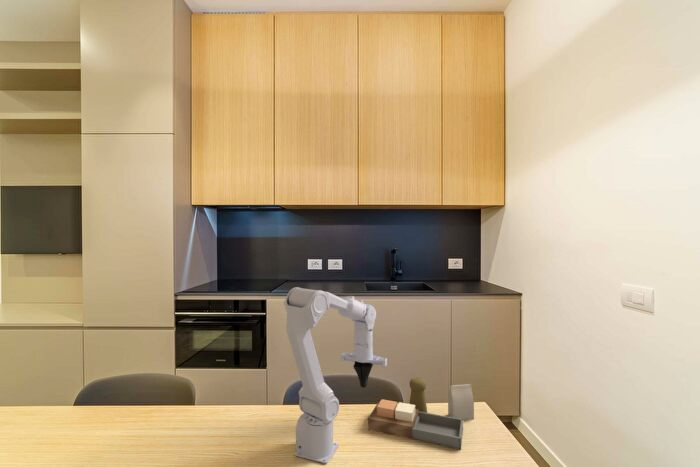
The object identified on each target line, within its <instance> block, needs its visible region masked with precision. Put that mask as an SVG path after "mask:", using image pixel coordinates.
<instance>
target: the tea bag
mask: <svg viewBox="0 0 700 467" xmlns="http://www.w3.org/2000/svg"><path fill="white" fill-rule="evenodd" d="M474 401H475V400H474V393H473V390H472V384H470V383H469V384H466V383H465V384H454V385H449V390H448V395H447V412H448V417H453V418H458V419H463V421H469V420H470V421H471V420H474V419H475V402H474Z"/></svg>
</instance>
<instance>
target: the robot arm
mask: <svg viewBox="0 0 700 467" xmlns="http://www.w3.org/2000/svg"><path fill="white" fill-rule="evenodd" d="M355 297H356V296H354V295H348V296H344V297H342V298H341V297H339V296H338V295H336V294H334V293H331V292H328V291H323V290H321V289H320V290H318V289H317V290H316V289H311V288H310V289H308V288H303V287H299V286H297V287H296V286H295V287H293V288H291V289H290V290H289V291H288V293H287V295H286V297H285V299H284V302H283V305H284V308H285V311H286V325H285V326H286V327H285V328H286V329H285V330H286V333H287V334H286V335H287V337H288V340H289V344H290V347H291V350H292V351H291V352H292V354H293V357H294V361H295V363H296V367H297V370H298V375H299V378H300V380H301V384H302V386H301V387H300V390H299V391H298V396H299V400H298V401H299V404H298V405H299V410H300V411H301V412H302V414H300V415H299V417H298V419H297V422H296V426H295V452H294V453H293V454H294V456H295V457H299V458H303V459H307V460H310V461H314V462H318V463H322V464H328V463H329V461H330V459H332V457H333V455H334V454H335V453H336V451H337V449H339V446H340V444H339V443H337V442H334V427H333V426H334V420H335V419H336V418H337V416H338V414H339V410H340V401H339V399H338V398H337V397H336V396H335V394H334V393H335V392H334V391H333V390H332V388H331V387H330V386H329V385H328V384H327V383H326V382H325V379H324V375H323V372H322V369H321V365H320V362H319V359H318V355H317V351H316V348H315V344H314V340H313V336H312V333H311V329H313V328H315V327H316V326H317V324H318V322H319V321H320V320H321V318H322V317H323V315H324V314H325V312H326V310H328V309H330V308H331V309H335V310H337V311H338V314H339V315H340V316H342V317H345V318H348V319H351V321H352V322H353V325H354V328H353V331H354V332H353V333H354V338H353V339H354V343H353V344H354V350H353V351H354V352H343V353H341V355H340V361H342V362H345V361H349V362H354V364H353V366H352V367H353V369H354V371H355V372H356V375H357V377H358V380H359V384H360V387H361V388H366V387H367V385H368V381H369V376H370V373H371V370H372V368H373V366H374V365H375V366H376V365H377V366H382V367H384V368H386V367H387V365H388V358H386V357H382V356H378V355H375V354H374V351H373V350H374V346H373V345H374V344H373V342H374V340H373V339H374V338H373V336H374V335H373V332H374V331H373V330H374V327H375V321H376V318H377V311H376V308H375V307H374V306H373V305H372V304H368V303H364V301H363V300H356V299H355Z"/></svg>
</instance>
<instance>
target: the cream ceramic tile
mask: <svg viewBox="0 0 700 467" xmlns="http://www.w3.org/2000/svg"><path fill="white" fill-rule="evenodd" d="M414 416H415V405H412V404H410V403H404V402H400V401H399V402H397V407H396V409H395V419H399V420H404V421H410V422H412V421H413V418H414Z"/></svg>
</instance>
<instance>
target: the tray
mask: <svg viewBox="0 0 700 467" xmlns="http://www.w3.org/2000/svg"><path fill="white" fill-rule="evenodd" d="M463 432H464V420H463V419H458V418H453V417H450V416H447V415H443V414H442V415H441V414H435V413H429V412H427V413H425V412H420V411H418V418H417V420H416V423H415V426H414V428H412V439H411V440H413V441H417V442H418V441H419V442H423V443H427V444H433V445H435V446H436V445H438V446H442V447H446V448H451V449H456V450H460V451H461V450H462V445H463V444H462V442H463V436H464V434H463Z"/></svg>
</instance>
